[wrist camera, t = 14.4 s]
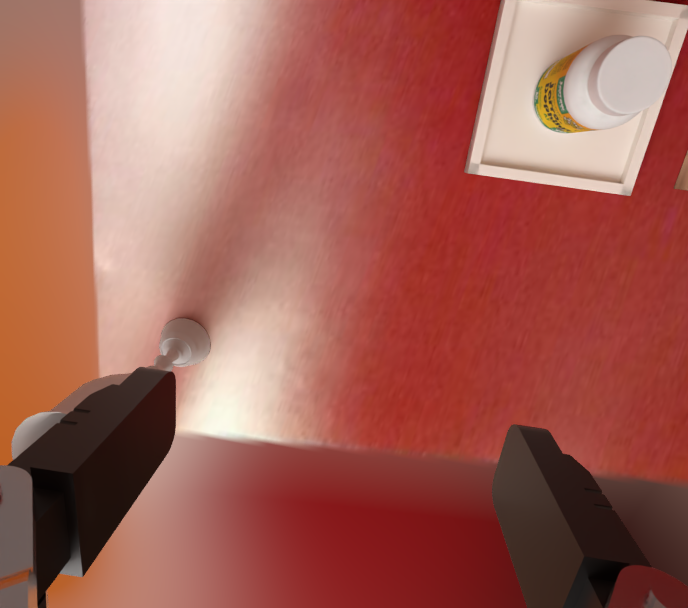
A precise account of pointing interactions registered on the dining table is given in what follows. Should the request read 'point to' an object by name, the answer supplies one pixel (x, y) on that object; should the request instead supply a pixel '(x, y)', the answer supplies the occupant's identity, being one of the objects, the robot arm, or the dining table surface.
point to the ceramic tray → (523, 74)
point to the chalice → (121, 378)
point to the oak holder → (683, 176)
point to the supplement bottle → (602, 84)
